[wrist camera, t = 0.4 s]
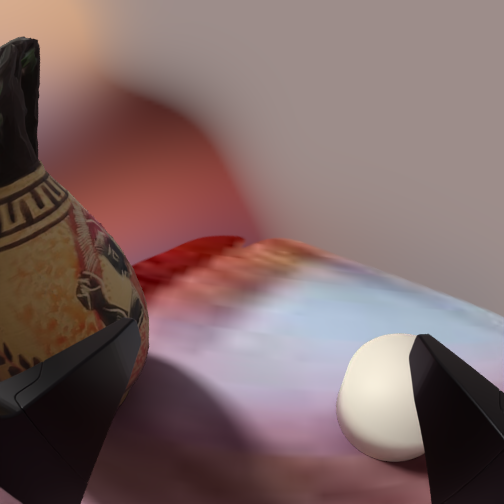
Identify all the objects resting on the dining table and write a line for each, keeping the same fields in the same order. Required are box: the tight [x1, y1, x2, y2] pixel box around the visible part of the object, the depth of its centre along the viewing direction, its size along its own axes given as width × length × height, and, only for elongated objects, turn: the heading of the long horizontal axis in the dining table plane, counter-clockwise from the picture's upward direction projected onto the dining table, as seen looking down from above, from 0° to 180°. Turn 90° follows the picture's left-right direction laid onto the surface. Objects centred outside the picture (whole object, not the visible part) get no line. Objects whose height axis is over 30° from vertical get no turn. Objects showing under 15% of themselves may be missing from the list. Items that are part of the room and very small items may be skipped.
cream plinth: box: [336, 334, 425, 462], centre depth 21 cm, size 11×11×4 cm
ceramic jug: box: [0, 37, 149, 407], centre depth 18 cm, size 17×15×30 cm
